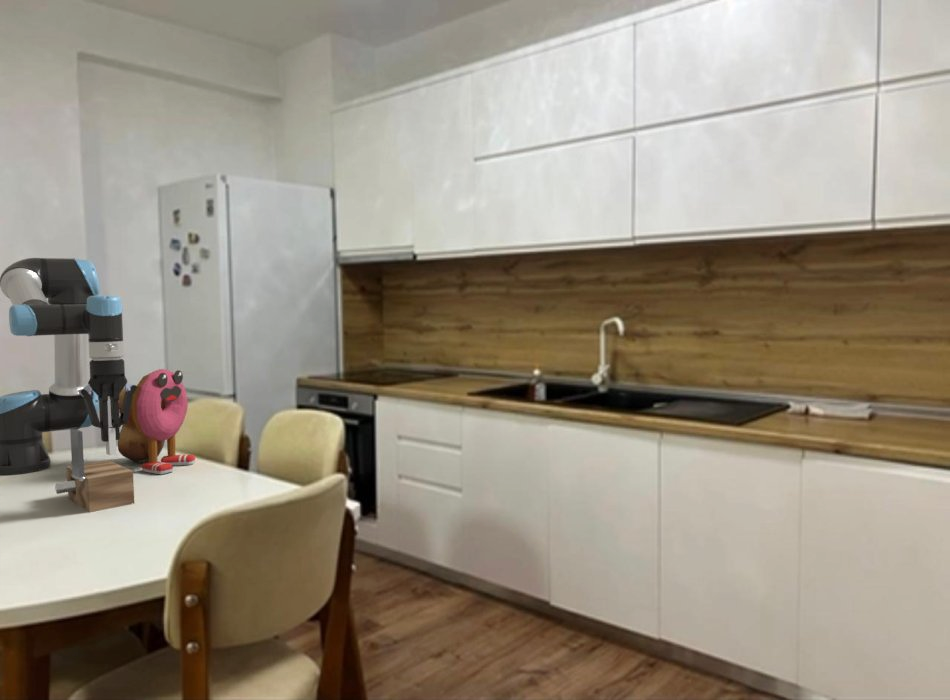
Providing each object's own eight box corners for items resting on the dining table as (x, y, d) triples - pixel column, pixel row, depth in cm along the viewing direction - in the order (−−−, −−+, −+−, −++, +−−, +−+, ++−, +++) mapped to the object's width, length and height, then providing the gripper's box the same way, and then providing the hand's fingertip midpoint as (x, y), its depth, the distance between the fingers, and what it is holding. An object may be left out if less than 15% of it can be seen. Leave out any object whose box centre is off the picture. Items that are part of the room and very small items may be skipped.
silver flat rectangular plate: (71, 477, 165) (69, 428, 164) (77, 476, 166) (74, 428, 165) (80, 482, 160) (77, 432, 159) (85, 481, 161) (83, 431, 160)
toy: (158, 477, 194) (154, 373, 192) (127, 476, 196) (122, 372, 194) (203, 460, 214) (199, 366, 212) (174, 459, 216) (170, 366, 215)
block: (68, 497, 174) (66, 466, 173) (110, 489, 181) (109, 460, 181) (89, 512, 161) (88, 479, 161) (134, 503, 168) (132, 471, 168)
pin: (120, 484, 180) (119, 466, 180) (126, 488, 177) (125, 469, 176) (54, 496, 170) (53, 476, 169) (60, 500, 166) (59, 480, 166)
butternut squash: (110, 463, 212) (106, 383, 210) (151, 455, 223) (148, 379, 221) (134, 469, 204) (130, 386, 202) (175, 460, 215) (172, 382, 213)
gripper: (81, 361, 159) (86, 460, 161) (140, 357, 168) (144, 451, 170) (72, 359, 164) (77, 456, 166) (129, 356, 174) (133, 447, 175)
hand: (111, 453), depth 168 cm, fingers closed
